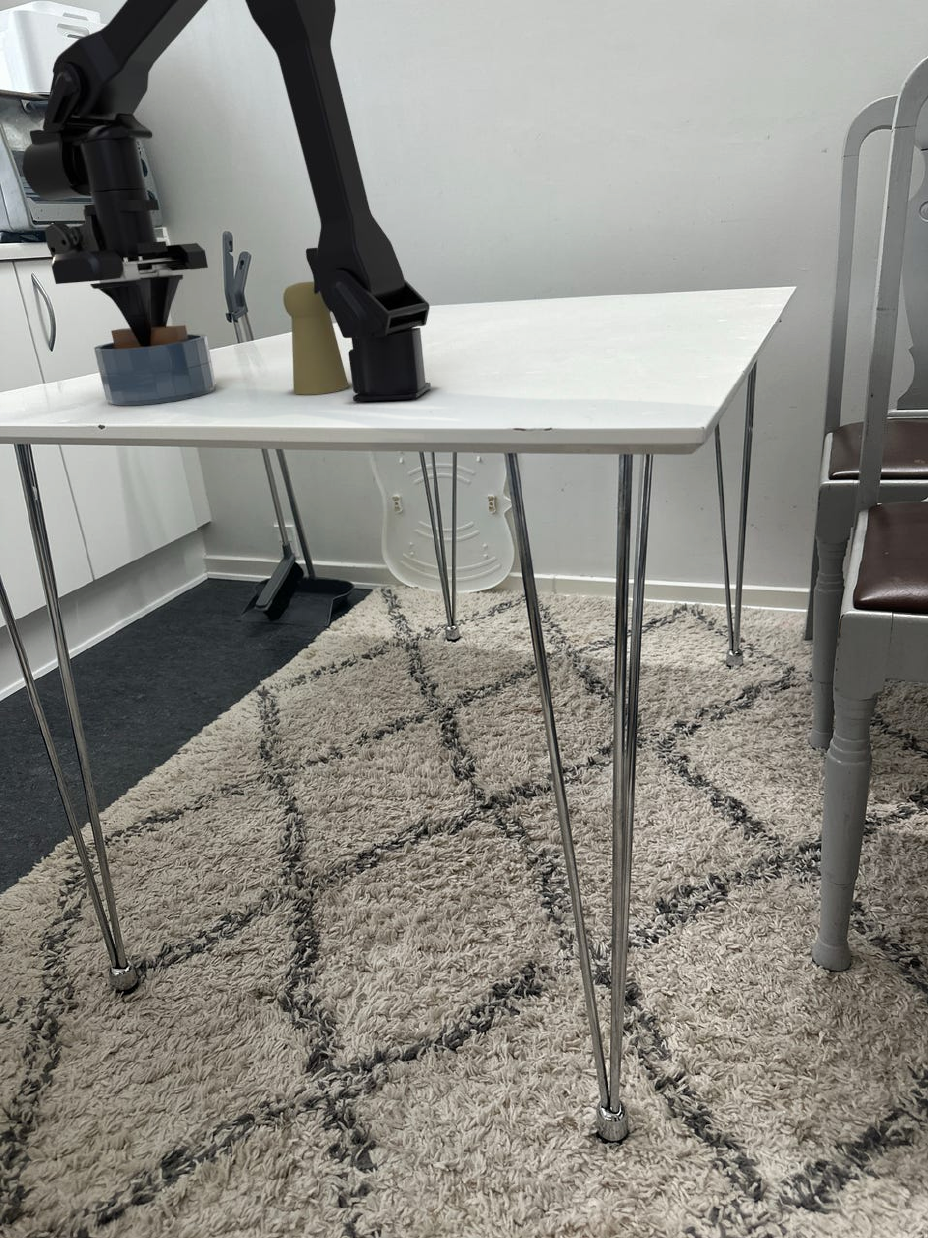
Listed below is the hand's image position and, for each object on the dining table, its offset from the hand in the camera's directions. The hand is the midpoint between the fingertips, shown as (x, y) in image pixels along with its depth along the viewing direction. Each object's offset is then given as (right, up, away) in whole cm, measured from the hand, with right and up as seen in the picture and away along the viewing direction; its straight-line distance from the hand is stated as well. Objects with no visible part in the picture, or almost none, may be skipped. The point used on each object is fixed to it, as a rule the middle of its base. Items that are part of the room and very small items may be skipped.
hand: (151, 344), depth 100 cm
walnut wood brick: (0, -1, 0) cm, 1 cm away
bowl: (0, -5, +2) cm, 6 cm away
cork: (+20, -6, -3) cm, 21 cm away
